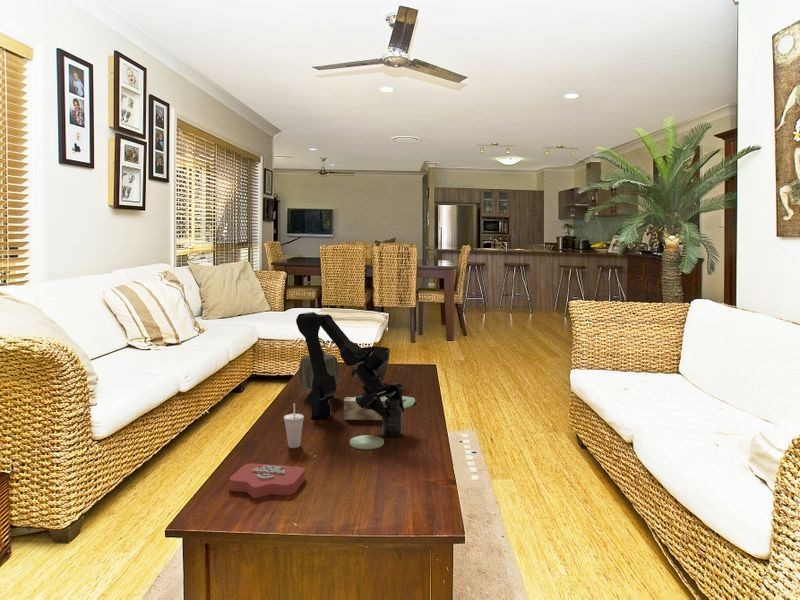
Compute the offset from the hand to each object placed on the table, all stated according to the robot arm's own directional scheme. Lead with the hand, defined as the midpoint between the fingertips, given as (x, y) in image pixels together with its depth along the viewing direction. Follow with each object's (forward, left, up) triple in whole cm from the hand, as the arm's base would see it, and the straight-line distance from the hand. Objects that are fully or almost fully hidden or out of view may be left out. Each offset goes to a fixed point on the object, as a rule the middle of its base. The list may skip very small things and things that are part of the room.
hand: (395, 415), depth 194 cm
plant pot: (-11, +70, -7) cm, 71 cm away
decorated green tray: (-5, +40, -8) cm, 41 cm away
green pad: (-9, -8, -7) cm, 14 cm away
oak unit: (-11, +19, -7) cm, 23 cm away
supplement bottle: (-1, +1, -7) cm, 7 cm away
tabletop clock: (-33, +47, -7) cm, 58 cm away
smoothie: (-32, -11, -7) cm, 35 cm away
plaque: (-34, -41, -8) cm, 54 cm away
